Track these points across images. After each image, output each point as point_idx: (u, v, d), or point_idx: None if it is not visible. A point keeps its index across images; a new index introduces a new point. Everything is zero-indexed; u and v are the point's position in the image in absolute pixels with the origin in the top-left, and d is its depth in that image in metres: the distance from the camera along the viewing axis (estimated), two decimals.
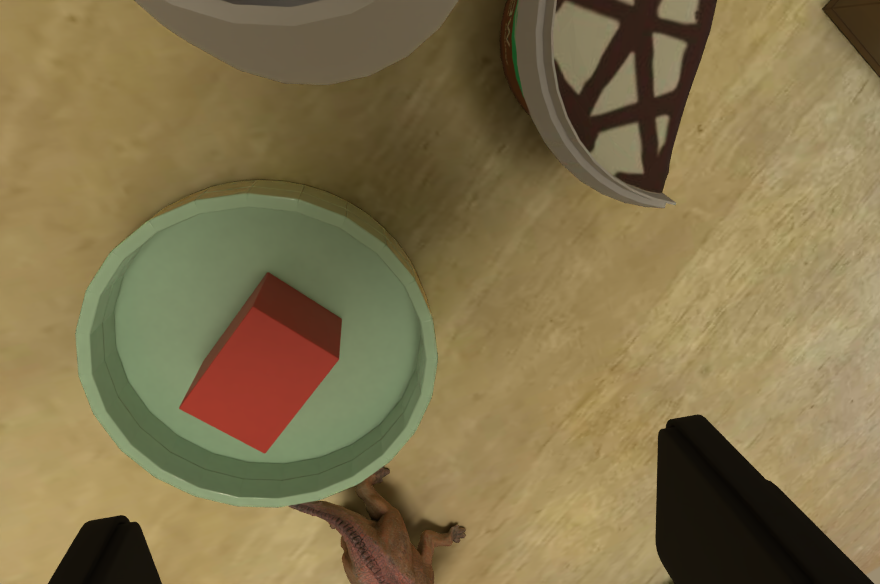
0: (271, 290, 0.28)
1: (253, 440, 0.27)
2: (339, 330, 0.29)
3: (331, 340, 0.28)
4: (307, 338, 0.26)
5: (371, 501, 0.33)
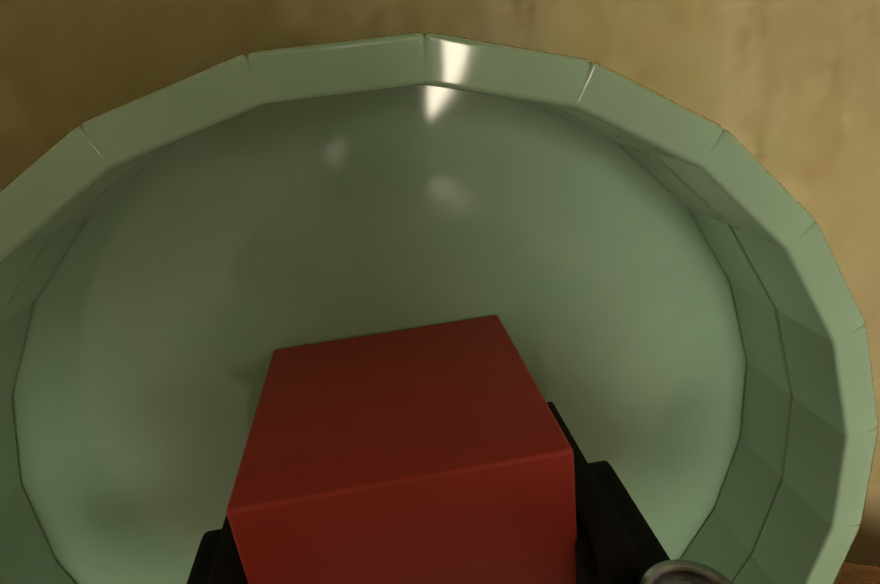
0: (288, 394, 0.10)
1: None
2: (511, 352, 0.10)
3: (511, 402, 0.09)
4: (442, 466, 0.08)
5: None
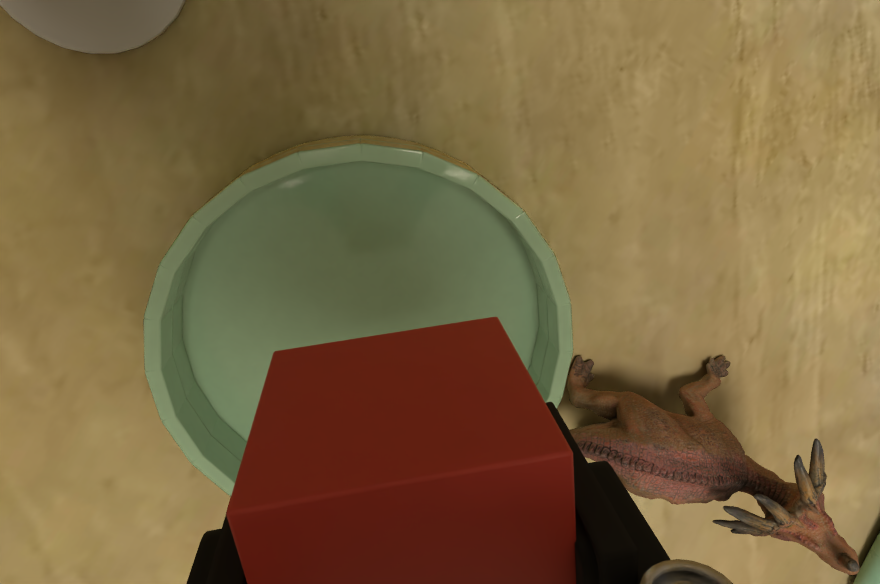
0: (288, 396, 0.10)
1: None
2: (510, 353, 0.10)
3: (510, 403, 0.09)
4: (442, 467, 0.08)
5: (594, 403, 0.26)
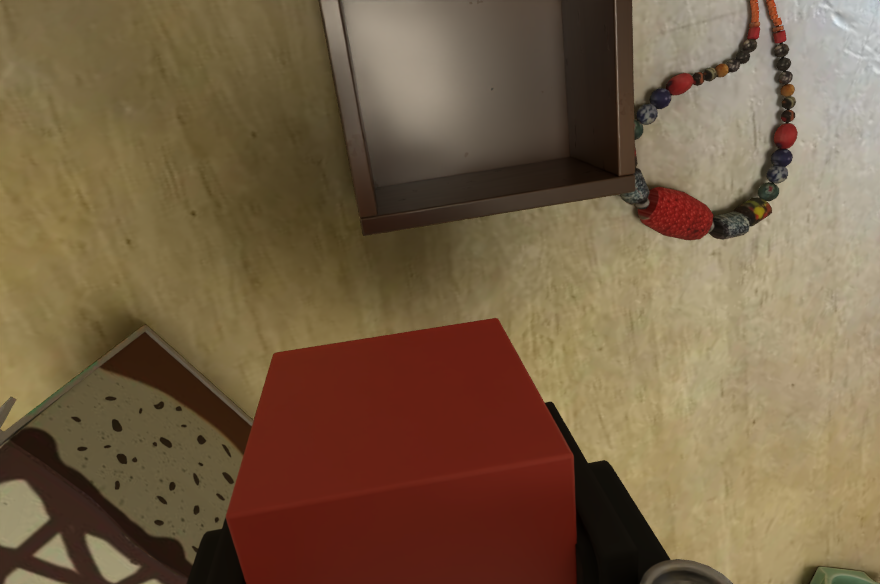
0: (288, 398, 0.10)
1: None
2: (511, 356, 0.10)
3: (511, 406, 0.09)
4: (442, 470, 0.08)
5: None
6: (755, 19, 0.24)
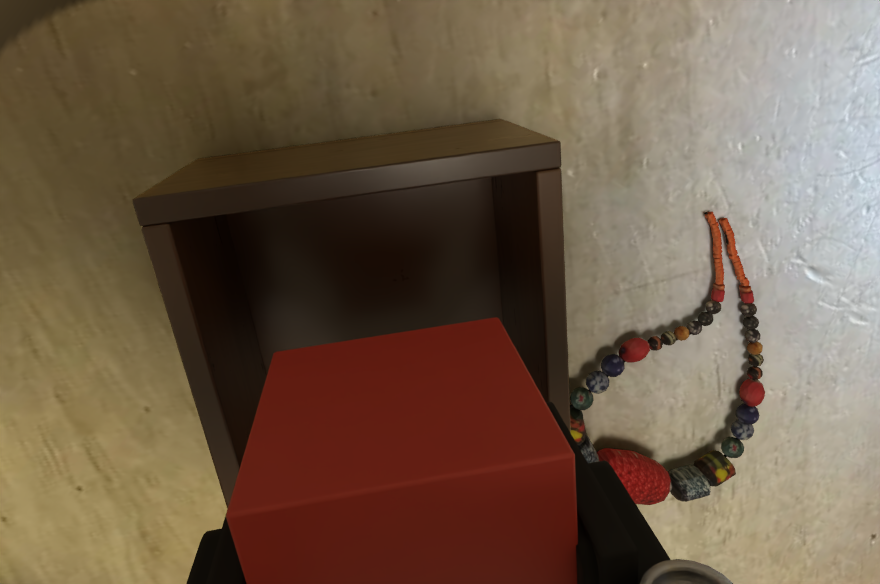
0: (288, 397, 0.10)
1: None
2: (511, 355, 0.10)
3: (512, 405, 0.09)
4: (443, 469, 0.08)
5: None
6: (719, 281, 0.21)
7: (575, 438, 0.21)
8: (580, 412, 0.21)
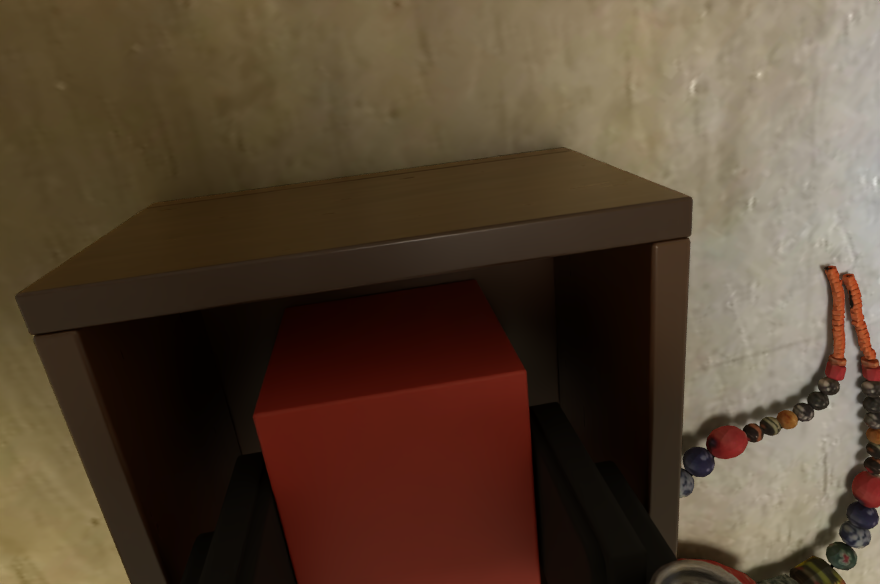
0: (298, 339, 0.12)
1: None
2: (484, 306, 0.12)
3: (480, 340, 0.11)
4: (422, 382, 0.10)
5: None
6: (838, 354, 0.16)
7: None
8: None
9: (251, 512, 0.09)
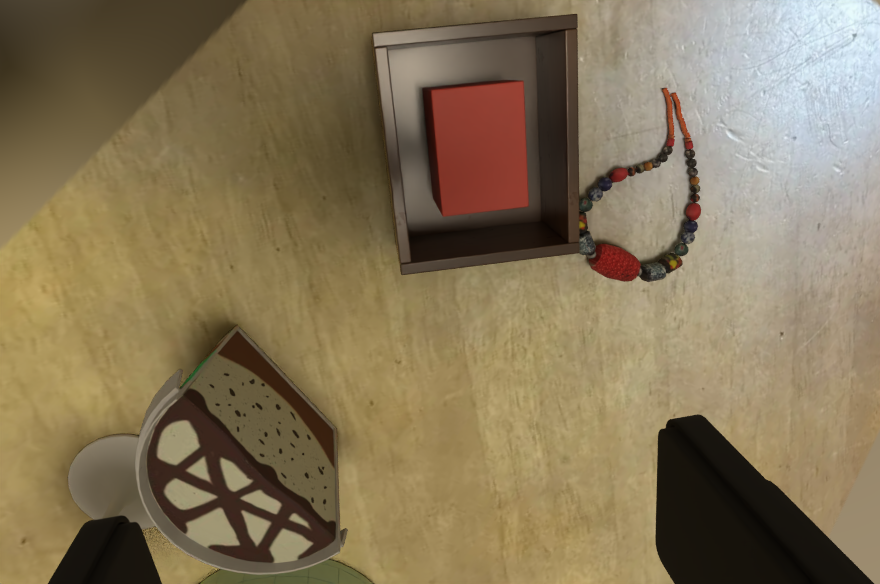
0: (435, 87, 0.30)
1: (512, 201, 0.30)
2: (507, 80, 0.31)
3: (507, 81, 0.29)
4: (487, 84, 0.28)
5: None
6: (671, 133, 0.34)
7: (581, 226, 0.34)
8: (584, 212, 0.35)
9: None
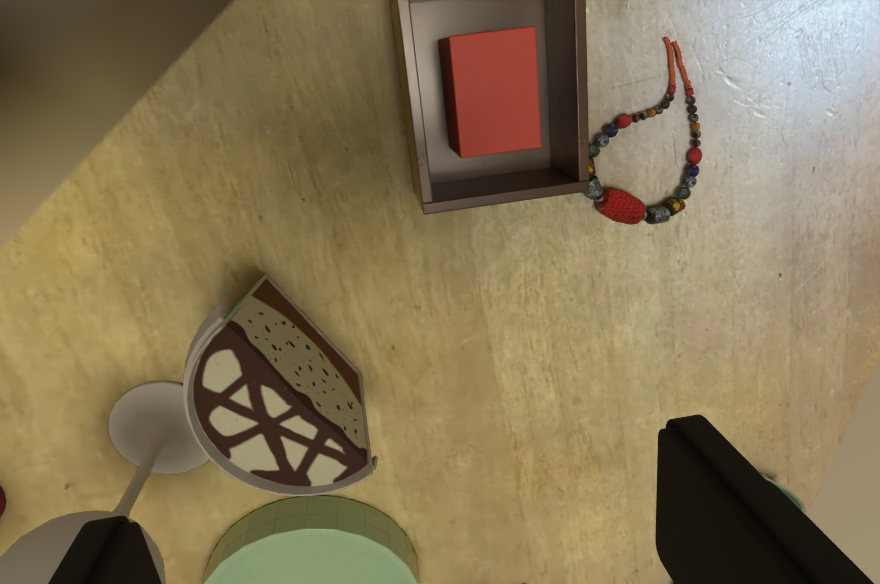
0: None
1: (526, 142, 0.32)
2: None
3: None
4: (502, 30, 0.30)
5: None
6: (672, 80, 0.36)
7: (589, 171, 0.36)
8: (592, 158, 0.37)
9: None
